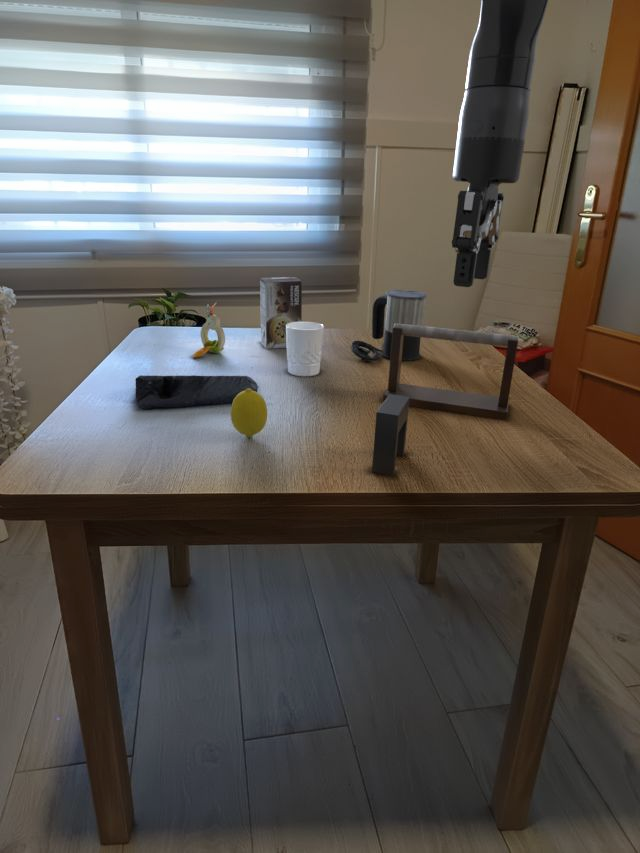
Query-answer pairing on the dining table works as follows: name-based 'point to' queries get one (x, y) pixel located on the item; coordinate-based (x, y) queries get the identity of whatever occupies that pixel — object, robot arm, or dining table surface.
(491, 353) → the dining table surface
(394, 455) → the dark grey hook
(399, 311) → the milk frother
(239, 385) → the dark slate chunk
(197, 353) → the rattle
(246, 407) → the lemon
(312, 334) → the white cup
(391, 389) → the rail stand
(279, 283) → the coffee box
